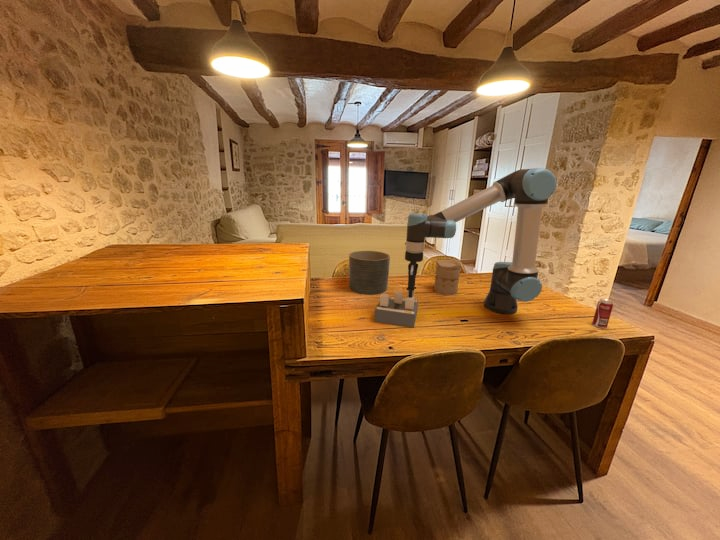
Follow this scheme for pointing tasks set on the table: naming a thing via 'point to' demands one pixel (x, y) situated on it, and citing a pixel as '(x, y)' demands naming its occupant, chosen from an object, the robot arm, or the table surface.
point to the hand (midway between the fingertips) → (410, 303)
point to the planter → (368, 272)
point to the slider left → (384, 300)
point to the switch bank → (396, 314)
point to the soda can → (602, 313)
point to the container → (447, 277)
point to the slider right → (409, 303)
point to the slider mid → (398, 297)
